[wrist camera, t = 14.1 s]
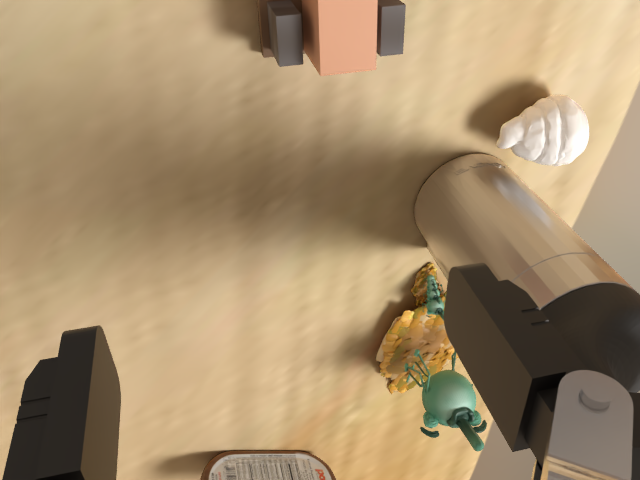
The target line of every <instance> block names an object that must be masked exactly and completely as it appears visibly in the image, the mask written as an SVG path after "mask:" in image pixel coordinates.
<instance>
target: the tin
mask: <svg viewBox="0 0 640 480" xmlns="http://www.w3.org/2000/svg"><path fill="white" fill-rule="evenodd" d="M200 480H336V478H335V476H334V474H333V472H332V470H331V469H330V467H329V466H328V465H327V464H326V463H325V462H324V461H322V460H321V459H320V458H318V457H316V456H314V455H312V454H310V453H306V452H302V451H227V452H224V453H221V454H219V455H217V456H215V457H214V458H213V459H212V460H211V461H210V462H209V463H208V464H207V465H206V467H205V469H204V471H203V473H202V476H201V479H200Z"/></svg>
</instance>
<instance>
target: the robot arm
mask: <svg viewBox="0 0 640 480" xmlns="http://www.w3.org/2000/svg"><path fill="white" fill-rule="evenodd" d="M414 215H415V221H416V224H417V226H418V228H419V230H420V232H421V234H422V235H423V237H424V238H425V240H426V241H427V249H428V250H429V252H430V253H431V255H432V256H433V258H434V260H435V261H436V263H437V264H438V266H439V267H440V269H441V271H442V272H443V274H444V275H445V277H446V278H447V280H448V285H447V293H446V300H445V308H444V326H445V330H446V333H447V336H448V339H449V341H450V343H451V344H452V346H453V348H454V350H455V351H456V353H457V355H458V357H459V358H460V360H461V362H462V364H463V365H464V367H465V369H466V371H467V372H468V374H469V376H470V378H471V380H472V381H473V383H474V385H475V387H476V388H477V390H478V392H479V394H480V395H481V397H482V399H483V401H484V402H485V404H486V406H487V408H488V410H489V411H490V413H491V415H492V417H493V418H494V420H495V422H496V423H497V425H498V427H499V429H500V431H501V432H502V434H503V436H504V438H505V439H506V441H507V443H508V445H509V447H510V448H511V450H512V452H514V451H519V450H523V449H527V448H530V449H531V450H532V452H533V453H534V455H535V457H536V461H535V464H534V468H533V473H532V479H531V480H640V393H637V392H638V391H639V390H640V295H639V294H638V293H637V292H636V291H635V290H634V289H633V288H632V287H631V286H630V285H629V284H628V283H627V282H626V281H625V280H624V279H623V278H622V277H621V276H620V275H619V274H618V273H617V272H615V270H614V269H613V268H612V267H611V266H610V265H609V264H607V262H605V261H604V260H603V259H602V258H601V257H600V256H599V255H598V254H597V253H596V252H595V251H594V250H593V249H592V248H591V247H590V246H589V245H588V244H587V243H586V242H585V241H584V240H583V239H582V238H581V237H580V236H579V235H578V234H577V233H576V232H575V231H574V230H573V229H572V228H571V227H569V226H568V225H567V224H566V223H565V222H564V221H563V220H562V219H561V218H560V217H559V216H558V215H557V214H556V213H555V212H554V211H553V210H552V209H551V208H550V207H549V206H548V205H547V204H546V203H545V202H544V201H543V200H542V199H541V198H540V197H539V196H538V195H537V194H536V193H535V192H534V191H533V190H532V189H531V188H530V187H529V186H528V185H527V184H526V183H525V182H524V181H523V180H522V179H520V178H519V177H518V176H517V175H516V174H515V173H514V172H513V171H512V170H511V169H510V168H509V167H508V166H507V165H506V164H505V163H504V162H503V161H501V160H500V159H498V158H496V157H494V156H492V155H486V154H469V155H465V156H461V157H458V158H456V159H453V160H451V161H449V162H447V163H446V164H444V165H443V166H441V167H440V168H438V169H437V170H436V171H435V172H434V173H433V174H432V175H431V176H430V177H429V178H428V179H427V181H426V182H425V183H424V185H423V186H422V188H421V190H420V192H419V194H418V196H417V200H416V203H415V212H414ZM120 406H121V392H120V383H119V378H118V374H117V370H116V367H115V364H114V361H113V358H112V355H111V352H110V349H109V346H108V343H107V340H106V337H105V334H104V331H103V329H102V327H101V326H93V327H87V328H81V329H75V330H69V331H64V332H63V334H62V337H61V342H60V348H59V353H58V357H55V358H49V359H44V360H40V361H39V363H38V364H37V365H36V367H35V368H34V370H33V371H32V372H31V374H30V375H29V376H28V378H27V379H26V381H25V385H24V389H23V393H22V398H21V406H19V411H18V415H17V419H16V420H17V424H15V428H14V432H13V436H12V441H11V445H10V449H9V454H8V458H7V462H6V466H5V471H4V475H3V479H2V480H116V473H117V456H118V440H119V423H120Z"/></svg>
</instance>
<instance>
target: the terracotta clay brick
mask: <svg viewBox="0 0 640 480" xmlns="http://www.w3.org/2000/svg"><path fill="white" fill-rule="evenodd" d="M377 7H378V0H302V18H303V39H304V51H305V53H306V54H307V56H308V57H309V59H310V60H311V62H312V64H313V65H314V67H315V68H316V70H317V71H318V73H319V74H320V76H325V75H333V74H342V73H351V72H360V71H369V70H376V50H377Z"/></svg>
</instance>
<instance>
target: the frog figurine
mask: <svg viewBox="0 0 640 480" xmlns="http://www.w3.org/2000/svg"><path fill="white" fill-rule="evenodd" d="M436 271H437V268H435V266H434V264H432V263H429V264H427V266H425V267H423V268H422V269H421V270H420V271H419V272H418V273H417V274H416V280H415V284H414V287H413V288H412V289H411V292H412V294H413V296H415V297H416V303H415V304H416V306H418V305H419V304H420V306H419V307H418V308H417V309H415V310H414V311H410V310H406V311H404V313H403V316H400V317H397V318H396V319H395V320H394V321H393V323H392V325H391V327H390V329H389V330H388V332H387V333H386V335H385V337H384V338H383V340H382V341H383V342H382V344H381V346H380V348H379V350H378V353H377V356H376V360H377V361H379V362H381V364H380V366H379V367H380V368H381V370H380V371H379V372H383V373H382V374H381V375H382V376H383V377H386V378H389V377H391V378H390V379H391V380H392V382H391V383H390V385H389V389H390V392H391V394H392V393H393V392H398V391H399V392H401V393H404V392H405V391H406V389H407V390H409V389H411V388H413V387H414V386H415V385H416V384H418V385H419V386H420V387H423V391H422V401H423V405H424V408H425V410H426V411H427V412H425V414H424V415H423V419H424V424H425V426H426V427H429V428H433V427H436V426H437V425H438V423H439V424H442V425H445V426H450V427H452V428H460V429H461V431H462V432H463V434H464V435H465V436H466V438H467V439H468V441H469V442H470V444H471V445H472V447H473V449H474V450H475V451H481V450H482V449H483V448H484V443H483V442H482V440H481V439H480V437H479V436H478V435H477V433H481V432H483V431H484V430H485V429H486V426H487V423H486V421H485V420H483V422H482V424H481V426H479V427H474V428H472V426H477V425H479V424H480V423H481V416H480V414H479V413H478V412H477V411H475V406H476V395H475V392H474V390H473V388H472V386H473V384H470V382H469V381H468V380H467V379H466V378H465V377H464V376H462V375H461V374H459V373H457V372H455V371H454V366H455V360H456V358H458V355H457V353H456V351H455V350H454V348H453V346H452V344H451V343H450V341H449V339H448V336H447V333H446V330H445V326H444V308H445V300H446V293H447V291H446V292H445V294H444V295H440V293H441V292H442V291H443V288H442V291H441V292H439V291H440V289H438V288H437V287H438V286H439V283H438V284H437V282H438V281H436V279H437V278H436V277H437V276H436ZM440 286H442V284H441V285H440ZM427 300H428V301H427ZM424 302H427V304H424V306H423V303H424ZM451 360H452V370H444V371H441V370H442V368H443V367H444V366H445V365H447V364H448V363H449V362H450V361H451ZM436 372H437V373H436ZM423 380H424V381H426V382H424V383H423ZM419 381H421V382H422V384H421V385H420V384H419ZM471 425H472V426H471ZM420 429H421V431H422V432H423V433H424V434H426V435H427V436H429V437H433V438H435V437H438V436H439V433H438V431H434V432H431V431H428V430H426V429H424V428H423V427H420ZM476 432H477V433H476Z"/></svg>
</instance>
